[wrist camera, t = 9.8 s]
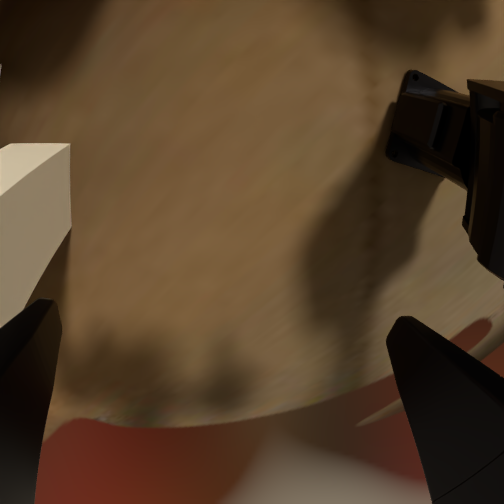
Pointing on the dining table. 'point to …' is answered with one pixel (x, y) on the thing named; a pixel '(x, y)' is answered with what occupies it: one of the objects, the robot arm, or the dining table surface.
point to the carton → (30, 217)
